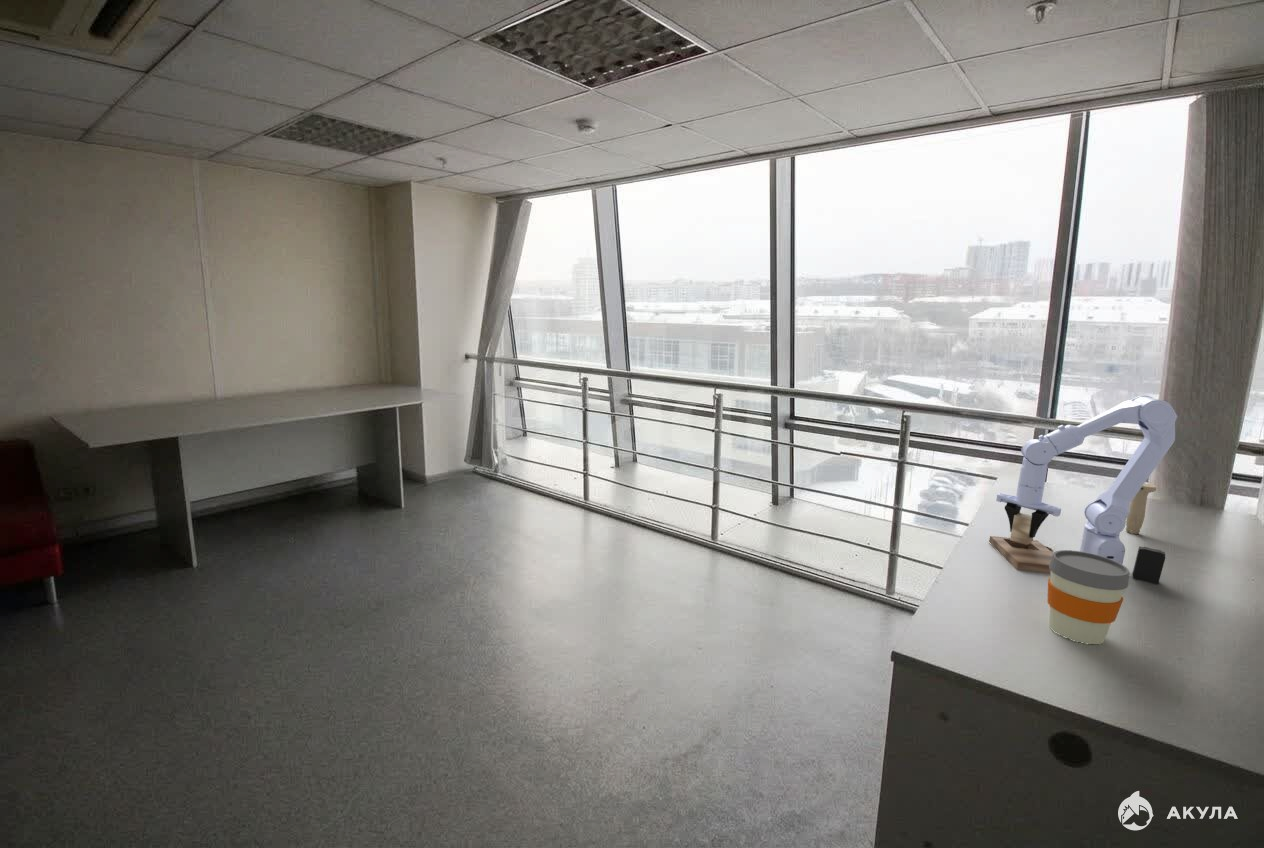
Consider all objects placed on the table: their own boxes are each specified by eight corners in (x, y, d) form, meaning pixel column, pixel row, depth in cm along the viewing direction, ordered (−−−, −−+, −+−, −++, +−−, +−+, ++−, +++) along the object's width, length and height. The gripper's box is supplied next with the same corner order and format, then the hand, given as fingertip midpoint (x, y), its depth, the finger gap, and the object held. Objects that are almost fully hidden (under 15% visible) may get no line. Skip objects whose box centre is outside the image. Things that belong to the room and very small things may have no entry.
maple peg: (1032, 541, 162) (1037, 517, 161) (1026, 544, 160) (1031, 519, 158) (1016, 537, 165) (1020, 512, 164) (1009, 540, 163) (1014, 515, 162)
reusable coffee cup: (1042, 610, 130) (1054, 544, 127) (1116, 632, 122) (1131, 562, 119) (1034, 633, 120) (1047, 562, 118) (1114, 658, 113) (1130, 582, 110)
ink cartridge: (1157, 581, 147) (1165, 551, 146) (1158, 585, 146) (1166, 553, 144) (1131, 575, 150) (1139, 545, 149) (1132, 578, 149) (1139, 547, 147)
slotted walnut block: (1070, 575, 149) (1071, 567, 149) (1017, 569, 151) (1018, 561, 151) (1036, 547, 166) (1037, 540, 166) (988, 542, 168) (990, 535, 168)
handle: (1146, 537, 178) (1156, 488, 175) (1118, 531, 182) (1128, 483, 179) (1145, 533, 182) (1156, 485, 179) (1118, 527, 185) (1128, 480, 183)
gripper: (1068, 490, 156) (1059, 539, 159) (1007, 476, 168) (999, 523, 170) (1058, 494, 152) (1049, 545, 155) (996, 479, 163) (988, 527, 166)
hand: (1022, 534), depth 162 cm, fingers closed on maple peg, 4 cm apart
